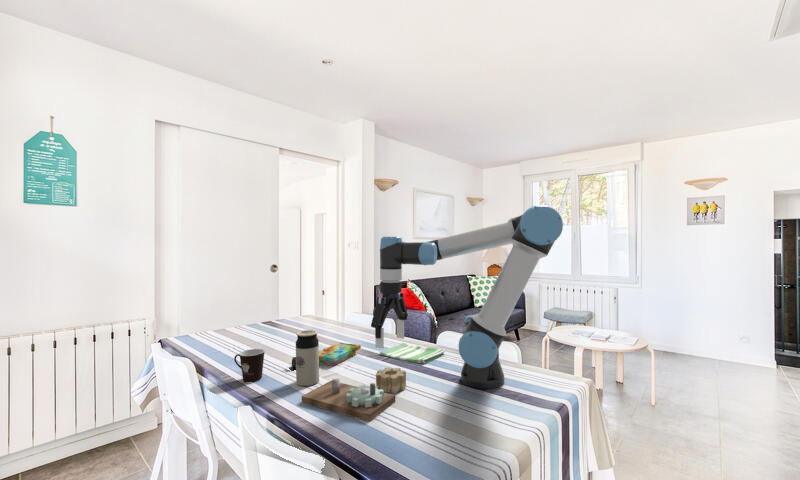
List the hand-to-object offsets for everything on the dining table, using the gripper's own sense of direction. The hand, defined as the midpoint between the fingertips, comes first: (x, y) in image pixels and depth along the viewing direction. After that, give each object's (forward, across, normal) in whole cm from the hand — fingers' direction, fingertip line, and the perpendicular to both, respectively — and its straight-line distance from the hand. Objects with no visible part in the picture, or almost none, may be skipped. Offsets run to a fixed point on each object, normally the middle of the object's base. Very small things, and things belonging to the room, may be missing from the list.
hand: (390, 342), depth 124 cm
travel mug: (+16, +11, -28) cm, 34 cm away
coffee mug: (+17, +18, -50) cm, 56 cm away
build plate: (+17, +1, -43) cm, 46 cm away
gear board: (+16, +16, -5) cm, 23 cm away
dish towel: (+16, -35, -10) cm, 39 cm away
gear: (+13, +16, +1) cm, 21 cm away
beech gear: (+15, 0, 0) cm, 15 cm away
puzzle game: (+17, -15, -37) cm, 43 cm away
